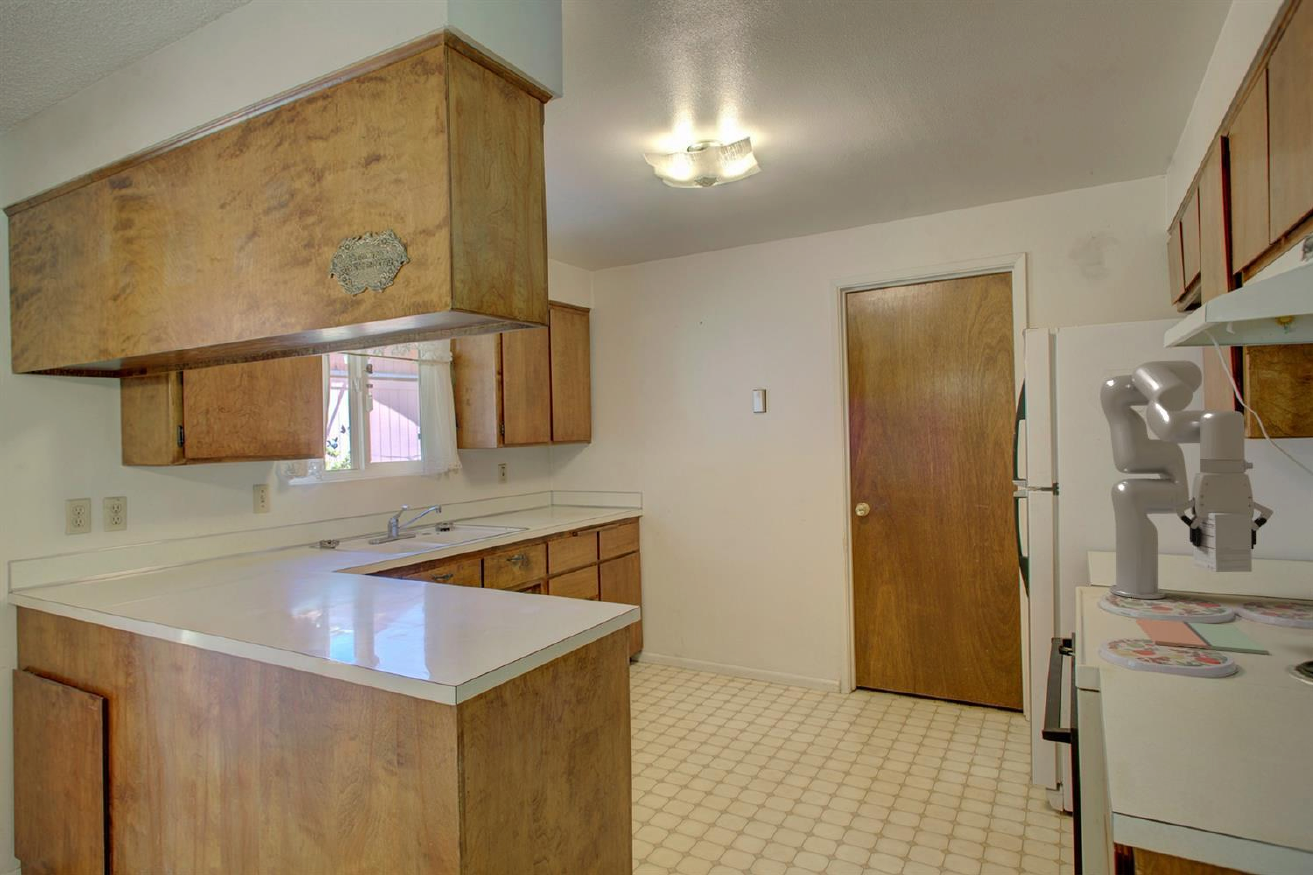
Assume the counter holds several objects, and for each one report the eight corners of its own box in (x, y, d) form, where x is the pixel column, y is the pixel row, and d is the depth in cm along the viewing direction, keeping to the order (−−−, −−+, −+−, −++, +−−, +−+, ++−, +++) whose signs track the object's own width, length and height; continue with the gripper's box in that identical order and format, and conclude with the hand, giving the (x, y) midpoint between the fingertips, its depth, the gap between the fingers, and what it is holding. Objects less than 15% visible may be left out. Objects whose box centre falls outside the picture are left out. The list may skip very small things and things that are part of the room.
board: (1135, 621, 166) (1135, 617, 166) (1235, 629, 159) (1235, 625, 158) (1155, 644, 150) (1155, 640, 150) (1267, 654, 142) (1267, 650, 142)
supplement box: (1228, 565, 155) (1228, 508, 155) (1252, 572, 148) (1252, 513, 148) (1192, 565, 156) (1192, 509, 156) (1215, 572, 149) (1215, 513, 149)
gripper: (1265, 466, 151) (1265, 546, 152) (1168, 466, 158) (1169, 542, 159) (1280, 469, 145) (1280, 552, 145) (1178, 468, 152) (1178, 547, 152)
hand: (1222, 546), depth 152 cm, fingers closed on supplement box, 8 cm apart
